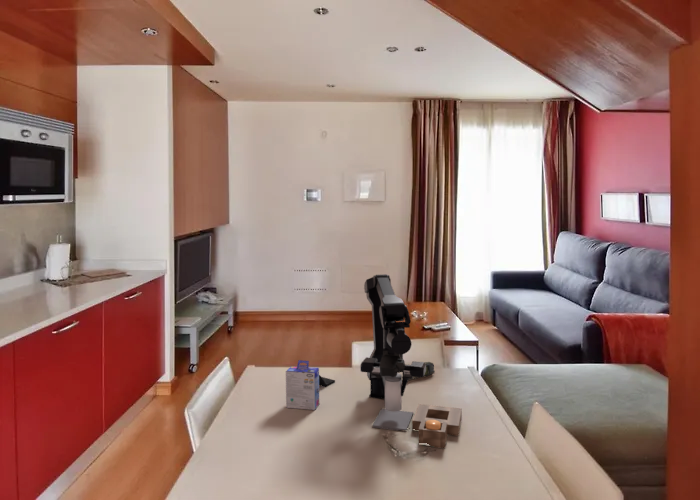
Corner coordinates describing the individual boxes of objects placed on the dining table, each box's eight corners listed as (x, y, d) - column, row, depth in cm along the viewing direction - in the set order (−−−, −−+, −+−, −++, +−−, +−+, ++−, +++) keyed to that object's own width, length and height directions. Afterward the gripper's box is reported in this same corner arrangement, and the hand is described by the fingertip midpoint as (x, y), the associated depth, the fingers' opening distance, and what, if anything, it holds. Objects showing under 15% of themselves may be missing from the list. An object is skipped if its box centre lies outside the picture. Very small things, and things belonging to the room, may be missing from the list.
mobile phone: (405, 369, 182) (437, 361, 189) (400, 366, 184) (432, 358, 192) (405, 382, 182) (438, 373, 190) (400, 379, 185) (432, 371, 192)
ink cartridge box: (320, 403, 163) (319, 360, 162) (315, 410, 158) (315, 365, 156) (291, 401, 165) (290, 358, 164) (285, 408, 160) (284, 364, 158)
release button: (424, 439, 136) (424, 425, 135) (426, 432, 139) (426, 419, 139) (439, 441, 134) (439, 427, 134) (441, 434, 138) (441, 420, 138)
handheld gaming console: (337, 376, 184) (326, 359, 178) (332, 393, 179) (320, 377, 173) (310, 376, 189) (299, 360, 183) (304, 392, 184) (292, 377, 178)
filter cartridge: (383, 410, 148) (383, 377, 147) (386, 403, 153) (386, 371, 152) (399, 412, 147) (399, 379, 146) (403, 405, 152) (403, 373, 150)
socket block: (407, 443, 136) (407, 427, 136) (418, 413, 155) (418, 399, 155) (456, 449, 132) (456, 433, 132) (461, 418, 151) (461, 403, 151)
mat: (372, 427, 146) (372, 425, 146) (381, 410, 157) (381, 408, 157) (406, 431, 143) (406, 429, 143) (413, 414, 155) (413, 412, 154)
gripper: (355, 349, 143) (355, 402, 144) (420, 354, 138) (420, 409, 139) (365, 338, 153) (365, 388, 155) (426, 343, 148) (426, 394, 150)
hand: (393, 394), depth 150 cm, fingers closed on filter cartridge, 5 cm apart
